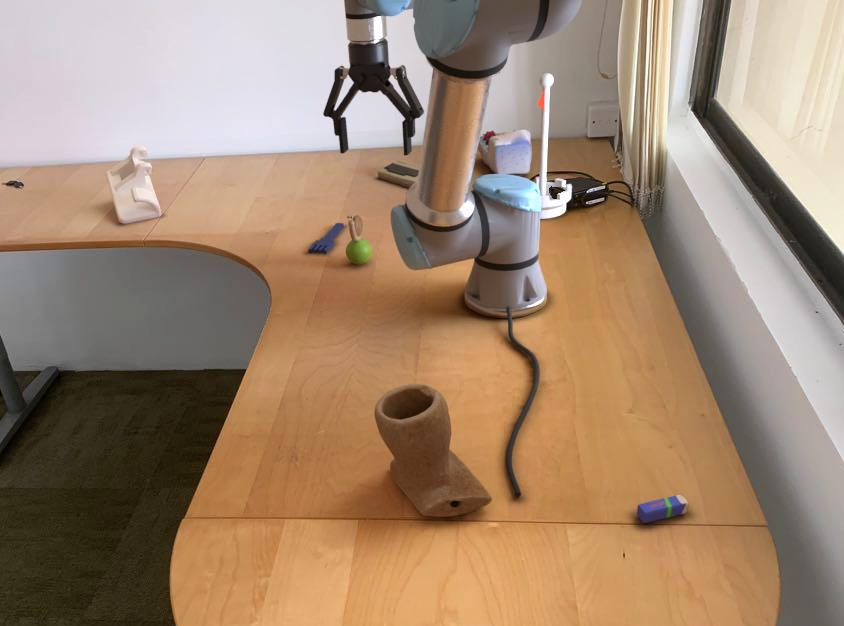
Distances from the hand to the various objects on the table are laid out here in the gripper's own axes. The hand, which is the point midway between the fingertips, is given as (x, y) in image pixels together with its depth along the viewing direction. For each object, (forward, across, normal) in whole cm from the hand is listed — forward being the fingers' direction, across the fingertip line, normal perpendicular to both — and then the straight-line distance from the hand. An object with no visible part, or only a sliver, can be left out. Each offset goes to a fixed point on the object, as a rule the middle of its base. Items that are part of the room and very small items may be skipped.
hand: (375, 152), depth 170 cm
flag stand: (+22, -29, -28) cm, 46 cm away
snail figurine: (+22, +3, +7) cm, 23 cm away
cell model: (+22, -15, -56) cm, 62 cm away
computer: (+22, +8, -43) cm, 49 cm away
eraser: (+22, -62, +70) cm, 96 cm away
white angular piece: (+22, +72, -14) cm, 76 cm away
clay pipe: (+22, -32, +73) cm, 83 cm away
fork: (+22, +14, -4) cm, 27 cm away
